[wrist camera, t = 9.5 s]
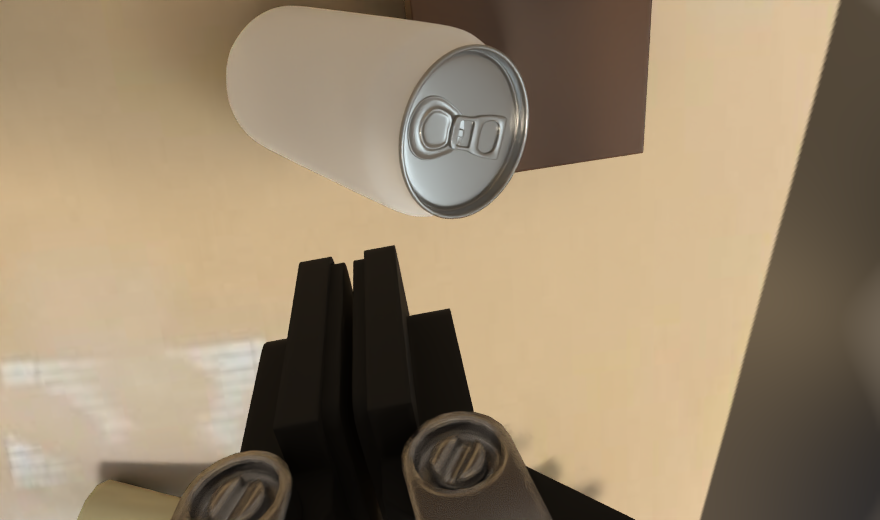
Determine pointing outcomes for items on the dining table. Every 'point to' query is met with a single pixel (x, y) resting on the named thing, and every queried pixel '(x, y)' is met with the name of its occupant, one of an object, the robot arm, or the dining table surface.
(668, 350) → the dining table surface
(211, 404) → the dining table surface
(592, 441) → the dining table surface
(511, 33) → the walnut block
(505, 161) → the can
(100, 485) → the flower vase
